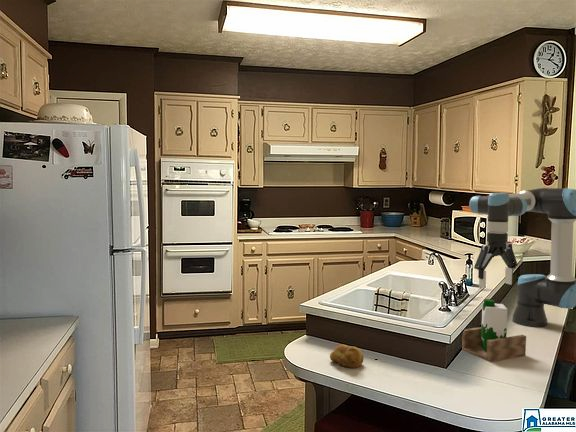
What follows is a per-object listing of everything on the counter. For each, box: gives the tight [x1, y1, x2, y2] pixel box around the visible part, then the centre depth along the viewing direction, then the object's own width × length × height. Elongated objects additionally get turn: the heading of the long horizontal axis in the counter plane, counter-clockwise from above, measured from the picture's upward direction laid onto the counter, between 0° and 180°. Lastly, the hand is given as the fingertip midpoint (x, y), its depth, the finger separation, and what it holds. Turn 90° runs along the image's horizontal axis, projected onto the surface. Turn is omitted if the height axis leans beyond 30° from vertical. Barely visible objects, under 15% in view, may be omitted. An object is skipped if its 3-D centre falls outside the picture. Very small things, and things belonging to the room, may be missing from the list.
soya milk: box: [480, 298, 508, 352], centre depth 197 cm, size 9×9×20 cm
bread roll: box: [329, 344, 364, 369], centre depth 184 cm, size 13×10×8 cm
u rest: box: [461, 326, 527, 363], centre depth 198 cm, size 18×16×8 cm
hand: (495, 285), depth 197 cm, fingers open, 13 cm apart
